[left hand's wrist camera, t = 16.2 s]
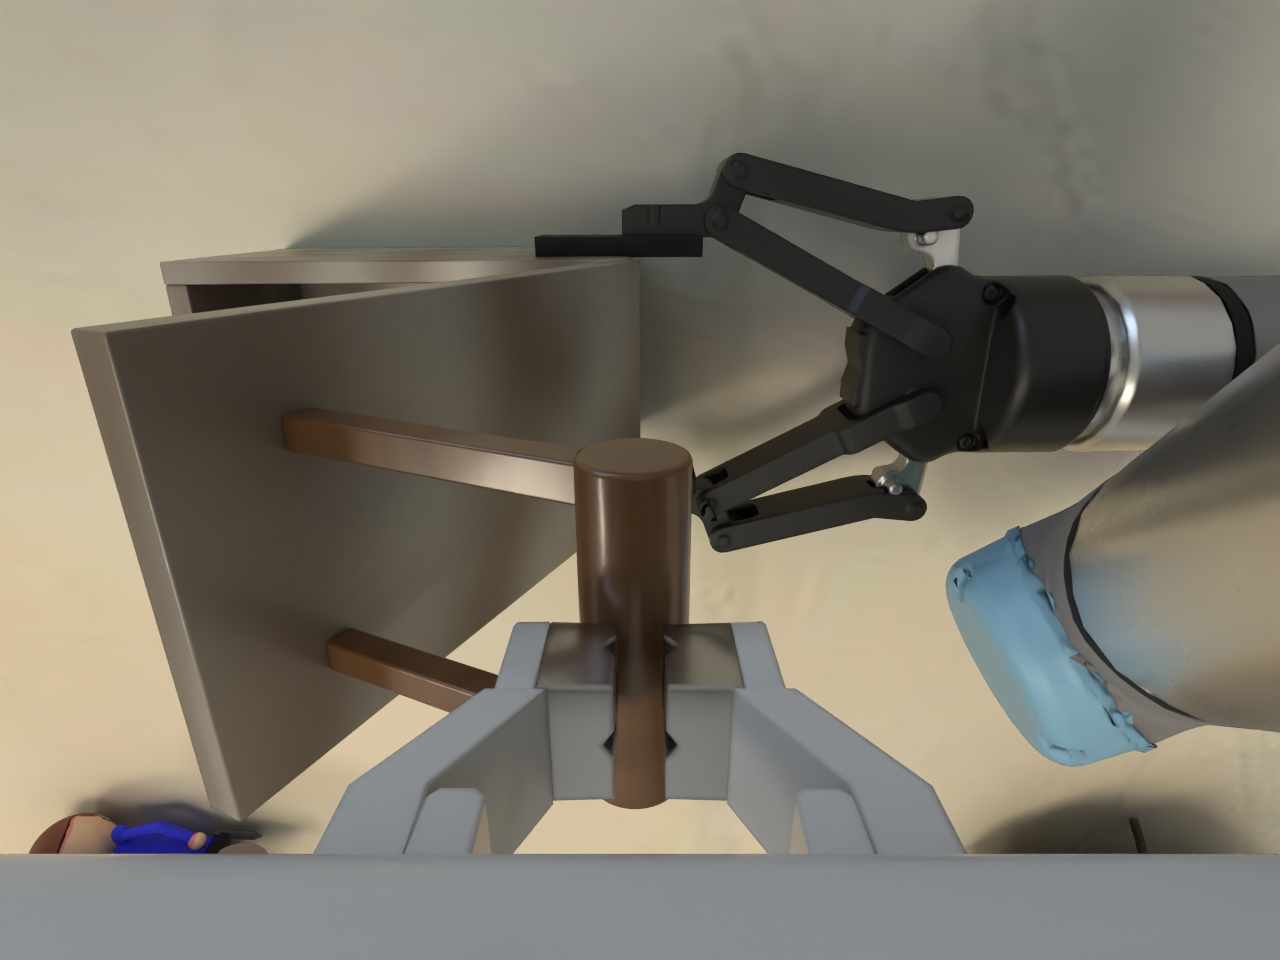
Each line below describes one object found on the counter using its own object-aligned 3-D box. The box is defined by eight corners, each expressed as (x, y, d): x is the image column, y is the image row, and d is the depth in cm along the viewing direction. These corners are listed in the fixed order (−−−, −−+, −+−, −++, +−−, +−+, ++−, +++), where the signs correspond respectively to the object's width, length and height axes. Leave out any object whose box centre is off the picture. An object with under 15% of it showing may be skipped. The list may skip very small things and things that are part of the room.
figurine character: (295, 798, 49) (53, 784, 46) (253, 898, 42) (-35, 889, 39) (291, 866, 51) (61, 857, 48) (251, 972, 44) (-21, 969, 41)
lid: (209, 807, 14) (604, 1016, 10) (68, 328, 10) (582, 385, 7) (621, 497, 29) (840, 536, 25) (617, 259, 25) (869, 265, 22)
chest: (317, 428, 38) (215, 498, 29) (285, 248, 35) (158, 261, 25) (630, 425, 38) (631, 494, 29) (628, 246, 35) (628, 258, 26)
